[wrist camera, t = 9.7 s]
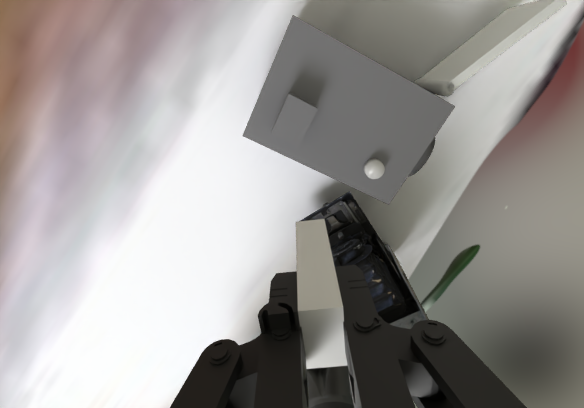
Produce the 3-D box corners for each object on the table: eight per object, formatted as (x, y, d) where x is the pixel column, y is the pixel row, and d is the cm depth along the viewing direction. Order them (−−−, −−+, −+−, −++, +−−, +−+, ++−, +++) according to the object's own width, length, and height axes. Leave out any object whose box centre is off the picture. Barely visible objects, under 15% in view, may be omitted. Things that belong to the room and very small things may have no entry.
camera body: (378, 180, 45) (407, 219, 33) (253, 119, 41) (238, 140, 30) (429, 101, 40) (482, 115, 29) (293, 25, 37) (293, 8, 25)
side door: (411, 83, 39) (438, 88, 32) (507, 6, 35) (562, -9, 28) (419, 96, 39) (447, 103, 32) (514, 22, 36) (570, 11, 29)
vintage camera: (350, 179, 45) (381, 252, 27) (398, 255, 50) (452, 361, 32) (295, 212, 48) (289, 300, 29) (346, 281, 52) (368, 394, 34)
